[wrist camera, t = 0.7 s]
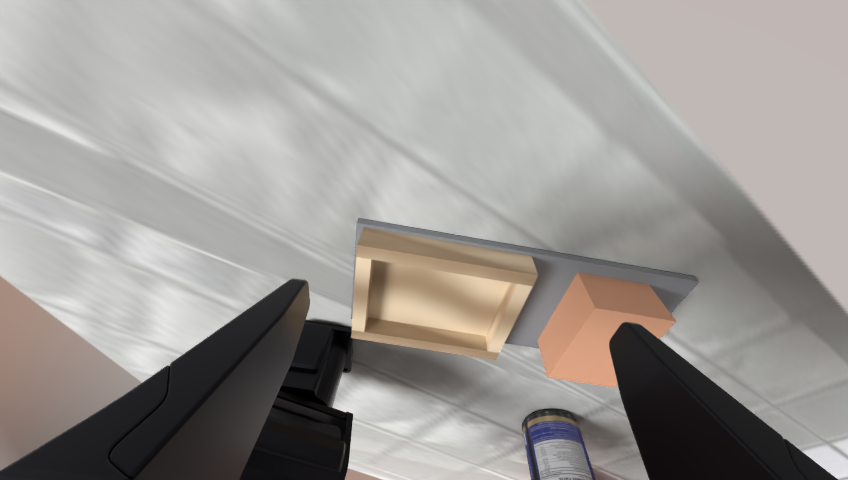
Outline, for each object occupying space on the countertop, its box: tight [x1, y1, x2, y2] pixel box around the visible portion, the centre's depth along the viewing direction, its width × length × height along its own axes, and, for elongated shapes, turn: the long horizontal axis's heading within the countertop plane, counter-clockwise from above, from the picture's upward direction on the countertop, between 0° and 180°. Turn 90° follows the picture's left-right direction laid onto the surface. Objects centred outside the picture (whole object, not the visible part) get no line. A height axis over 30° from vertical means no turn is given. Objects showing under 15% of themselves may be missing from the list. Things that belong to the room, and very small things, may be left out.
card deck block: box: [537, 272, 676, 387], centre depth 25 cm, size 8×6×4 cm
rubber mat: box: [351, 218, 699, 348], centre depth 26 cm, size 10×25×1 cm, turn 80°
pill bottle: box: [522, 409, 596, 480], centre depth 33 cm, size 6×6×11 cm
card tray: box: [351, 227, 538, 360], centre depth 25 cm, size 10×12×2 cm
